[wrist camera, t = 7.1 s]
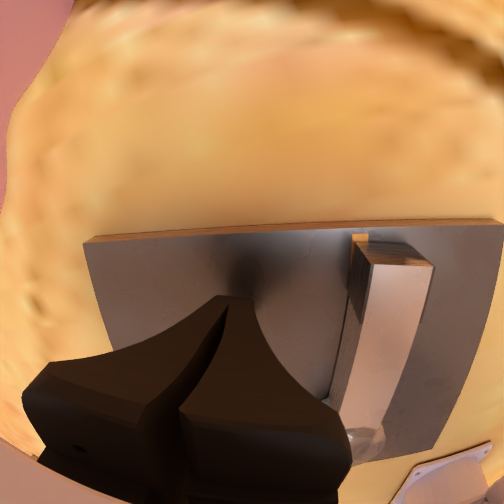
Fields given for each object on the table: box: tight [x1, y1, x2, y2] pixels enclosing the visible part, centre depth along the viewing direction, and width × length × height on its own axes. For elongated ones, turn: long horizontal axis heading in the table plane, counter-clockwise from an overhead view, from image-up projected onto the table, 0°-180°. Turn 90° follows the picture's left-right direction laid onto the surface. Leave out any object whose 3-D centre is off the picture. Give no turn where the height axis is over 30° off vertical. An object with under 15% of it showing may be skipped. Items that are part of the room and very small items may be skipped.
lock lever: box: [322, 241, 436, 467], centre depth 11 cm, size 11×4×2 cm, turn 179°
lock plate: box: [83, 219, 504, 462], centre depth 13 cm, size 15×18×1 cm
